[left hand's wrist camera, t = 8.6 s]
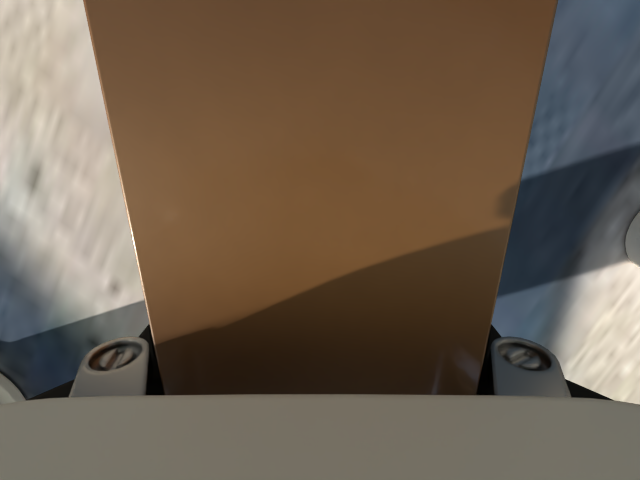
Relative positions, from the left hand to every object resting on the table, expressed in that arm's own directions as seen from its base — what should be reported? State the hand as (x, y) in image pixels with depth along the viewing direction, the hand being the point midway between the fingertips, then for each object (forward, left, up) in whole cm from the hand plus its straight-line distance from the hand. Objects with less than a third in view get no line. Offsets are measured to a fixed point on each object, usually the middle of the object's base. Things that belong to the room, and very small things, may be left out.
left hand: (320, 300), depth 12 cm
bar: (-2, +22, -3) cm, 22 cm away
